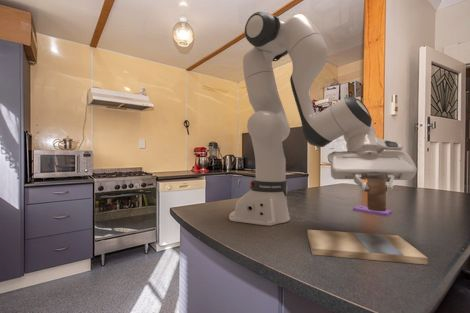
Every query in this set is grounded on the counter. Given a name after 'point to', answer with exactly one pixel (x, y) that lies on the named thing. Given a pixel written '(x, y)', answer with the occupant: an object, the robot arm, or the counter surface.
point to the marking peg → (376, 191)
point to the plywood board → (364, 246)
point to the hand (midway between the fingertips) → (377, 190)
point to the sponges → (366, 210)
